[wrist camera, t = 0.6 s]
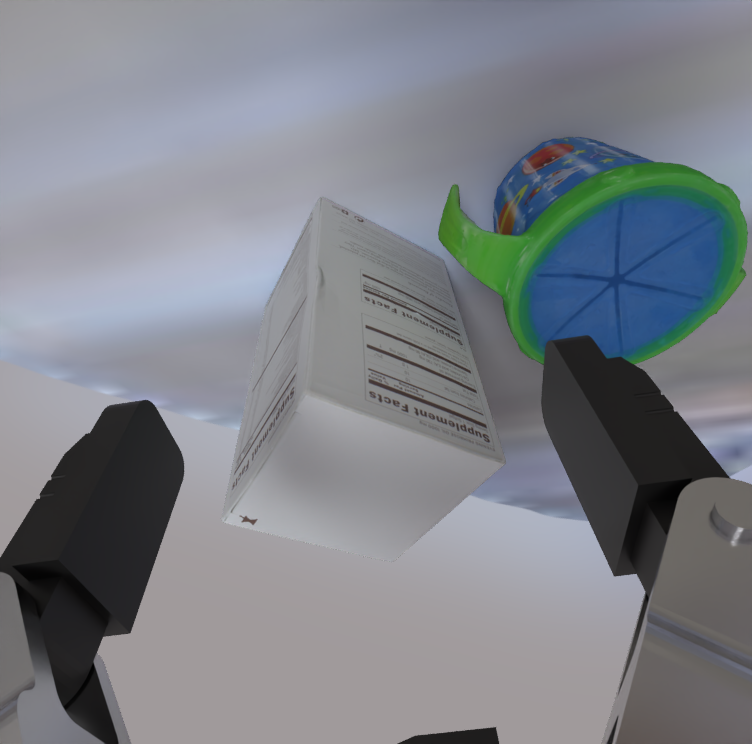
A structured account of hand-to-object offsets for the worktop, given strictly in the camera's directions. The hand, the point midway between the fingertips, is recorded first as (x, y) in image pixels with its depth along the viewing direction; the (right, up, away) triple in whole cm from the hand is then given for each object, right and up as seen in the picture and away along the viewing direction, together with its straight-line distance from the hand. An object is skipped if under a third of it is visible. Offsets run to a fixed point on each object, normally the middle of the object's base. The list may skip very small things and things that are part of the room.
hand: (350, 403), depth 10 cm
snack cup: (+11, +11, +20) cm, 25 cm away
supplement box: (-1, +7, +23) cm, 24 cm away
